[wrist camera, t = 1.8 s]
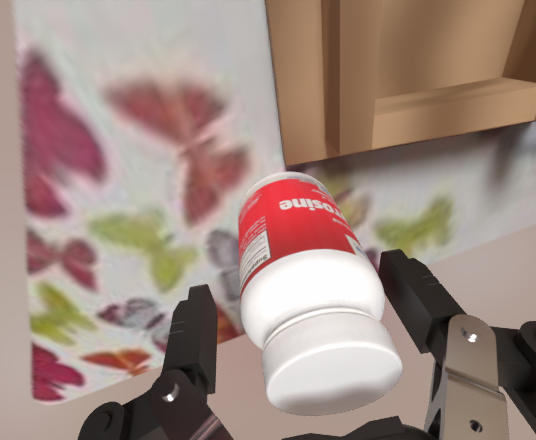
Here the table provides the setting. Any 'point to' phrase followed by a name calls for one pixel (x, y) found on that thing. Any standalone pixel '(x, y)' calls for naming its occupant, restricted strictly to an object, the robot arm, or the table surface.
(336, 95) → the holder
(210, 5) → the table surface
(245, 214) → the pill bottle
